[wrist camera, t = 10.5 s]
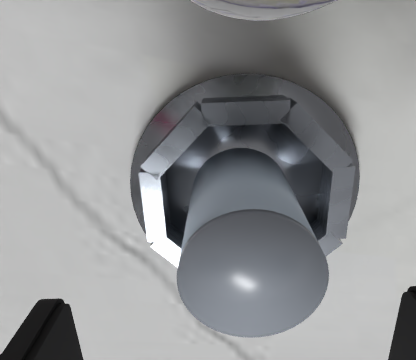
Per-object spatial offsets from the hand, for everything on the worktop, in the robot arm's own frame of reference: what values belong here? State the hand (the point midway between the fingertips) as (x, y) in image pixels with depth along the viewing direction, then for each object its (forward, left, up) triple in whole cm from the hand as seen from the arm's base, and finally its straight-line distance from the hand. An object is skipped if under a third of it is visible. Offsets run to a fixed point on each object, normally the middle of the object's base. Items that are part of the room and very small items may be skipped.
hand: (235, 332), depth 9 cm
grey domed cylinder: (0, -1, -9) cm, 9 cm away
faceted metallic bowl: (0, -1, -9) cm, 9 cm away
